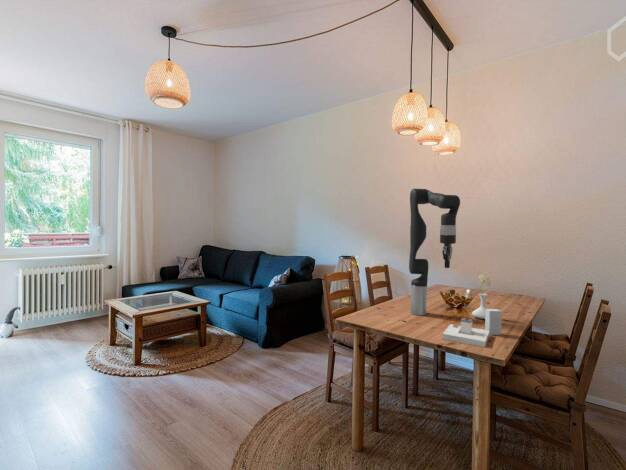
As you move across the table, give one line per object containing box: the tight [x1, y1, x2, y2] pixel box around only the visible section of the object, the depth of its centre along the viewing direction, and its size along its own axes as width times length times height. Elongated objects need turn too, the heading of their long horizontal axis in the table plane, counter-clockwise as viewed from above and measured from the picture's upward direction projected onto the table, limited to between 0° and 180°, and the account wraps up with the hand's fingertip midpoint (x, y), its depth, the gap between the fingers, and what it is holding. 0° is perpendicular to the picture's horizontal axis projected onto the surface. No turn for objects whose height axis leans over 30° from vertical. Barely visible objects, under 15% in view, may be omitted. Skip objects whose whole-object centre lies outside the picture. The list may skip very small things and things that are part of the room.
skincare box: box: [484, 308, 502, 336], centre depth 166 cm, size 6×4×12 cm
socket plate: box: [442, 323, 490, 348], centre depth 160 cm, size 18×18×3 cm
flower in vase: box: [471, 273, 491, 320], centre depth 194 cm, size 13×11×25 cm
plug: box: [460, 317, 473, 335], centre depth 160 cm, size 4×4×9 cm
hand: (447, 267), depth 171 cm, fingers closed
